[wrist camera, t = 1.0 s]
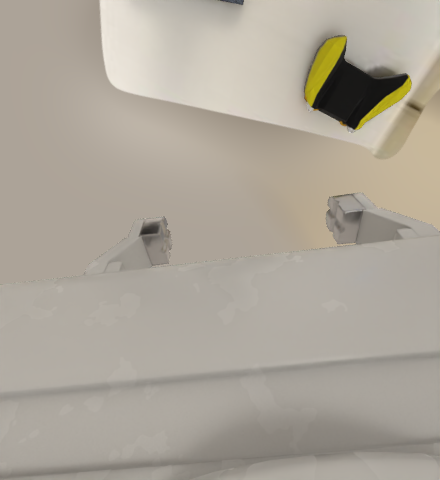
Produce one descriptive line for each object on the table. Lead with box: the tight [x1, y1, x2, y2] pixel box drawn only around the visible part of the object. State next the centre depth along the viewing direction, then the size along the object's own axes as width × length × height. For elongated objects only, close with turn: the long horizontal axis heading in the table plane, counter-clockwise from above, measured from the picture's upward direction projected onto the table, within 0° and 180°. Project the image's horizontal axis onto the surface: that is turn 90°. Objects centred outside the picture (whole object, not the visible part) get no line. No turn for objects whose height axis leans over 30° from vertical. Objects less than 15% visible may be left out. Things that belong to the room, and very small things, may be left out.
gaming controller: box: [304, 35, 412, 133], centre depth 42 cm, size 15×6×10 cm
